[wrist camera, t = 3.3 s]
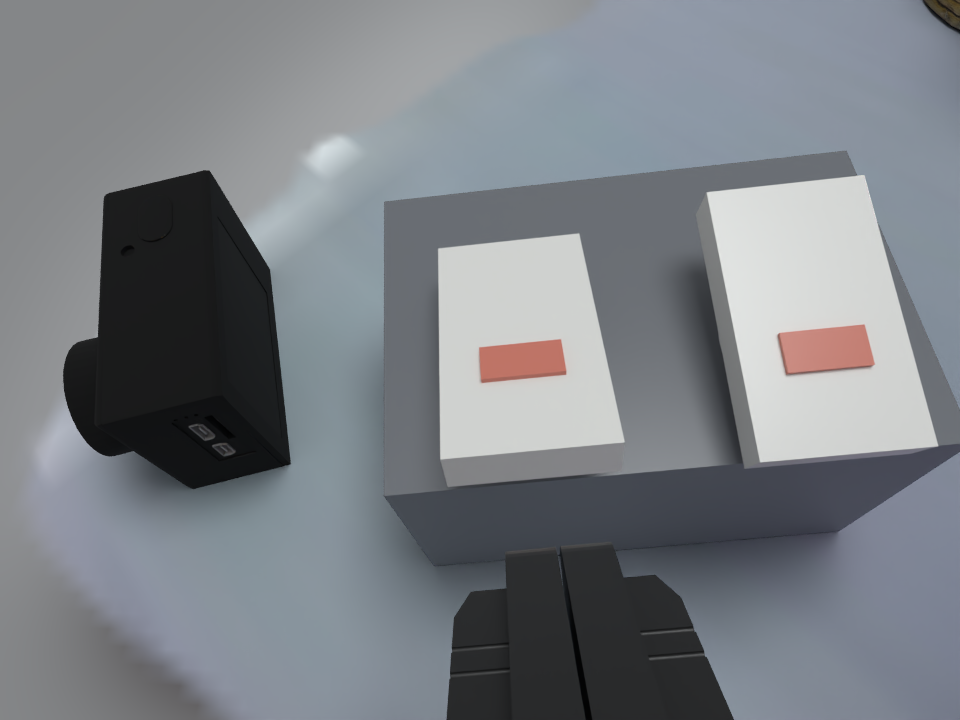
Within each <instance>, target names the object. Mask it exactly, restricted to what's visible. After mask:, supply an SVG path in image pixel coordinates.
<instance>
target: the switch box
mask: <svg viewBox="0 0 960 720" xmlns="http://www.w3.org/2000/svg"><path fill="white" fill-rule="evenodd" d="M851 176H857V174H856V172H855V169H854V167H853V165H852V162H851V160H850V158H849V156H848V153H847V151H839V152H830V153H821V154H812V155H803V156H794V157H785V158H776V159H767V160H758V161H749V162H740V163H731V164H722V165H712V166H703V167H694V168H685V169H676V170H667V171H658V172H649V173H640V174H631V175H622V176H613V177H604V178H595V179H586V180H577V181H568V182H559V183H550V184H541V185H531V186H522V187H513V188H504V189H495V190H486V191H477V192H468V193H459V194H450V195H441V196H432V197H423V198H414V199H405V200H396V201H387V202H384V497H385V498H386V500H387V501H388V502H389V504H390V505H391V507H392V508H393V509H394V511H395V512H396V514H397V515H398V516H399V518H400V519H401V520H402V522H403V523H404V525H405V526H406V527H407V529H408V530H409V532H410V533H411V534H412V536H413V537H414V539H415V540H416V541H417V543H418V544H419V546H420V547H421V548H422V550H423V551H424V553H425V554H426V555H427V557H428V558H429V560H430V561H431V562H432V564H433V565H434V566H439V565H451V564H463V563H474V562H486V561H497V560H505V552H506V551H517V550H527V549H538V548H549V547H556V550H557V555H560V546H568V545H579V544H590V543H601V542H612V544H613V547H614V550H626V549H637V548H649V547H660V546H672V545H684V544H695V543H707V542H719V541H730V540H742V539H754V538H765V537H777V536H789V535H800V534H812V533H823V532H835V531H840V530H842V529H843V528H845V527H846V526H848V525H849V524H851V523H852V522H854V521H855V520H857V519H858V518H860V517H861V516H863V515H864V514H866V513H867V512H869V511H870V510H872V509H873V508H875V507H877V506H878V505H880V504H881V503H883V502H884V501H886V500H887V499H889V498H890V497H892V496H893V495H895V494H896V493H898V492H899V491H901V490H902V489H904V488H905V487H907V486H908V485H910V484H912V483H913V482H915V481H916V480H918V479H919V478H921V477H922V476H924V475H925V474H927V473H928V472H930V471H931V470H933V469H934V468H936V467H937V466H939V465H940V464H942V463H943V462H945V461H946V460H948V459H950V458H951V457H953V456H954V455H956V454H957V453H959V452H960V409H959V407H958V405H957V402H956V400H955V398H954V396H953V393H952V391H951V389H950V386H949V384H948V382H947V380H946V377H945V375H944V373H943V370H942V368H941V366H940V364H939V361H938V359H937V357H936V354H935V352H934V350H933V348H932V345H931V343H930V341H929V338H928V336H927V334H926V332H925V329H924V327H923V325H922V322H921V320H920V318H919V316H918V313H917V311H916V309H915V306H914V304H913V302H912V300H911V297H910V295H909V293H908V290H907V288H906V286H905V284H904V281H903V279H902V277H901V274H900V272H899V270H898V268H897V265H896V263H895V261H894V258H893V256H892V254H891V252H890V249H889V247H888V245H887V242H886V240H885V238H884V236H883V233H882V231H881V229H880V226H879V224H878V227H879V231H880V234H881V238H882V242H883V245H884V249H885V253H886V256H887V260H888V264H889V267H890V271H891V274H892V278H893V282H894V285H895V289H896V293H897V296H898V300H899V304H900V307H901V311H902V315H903V318H904V322H905V326H906V329H907V333H908V337H909V340H910V344H911V348H912V351H913V355H914V359H915V362H916V366H917V370H918V373H919V377H920V381H921V384H922V388H923V392H924V395H925V399H926V403H927V406H928V410H929V413H930V417H931V421H932V424H933V428H934V432H935V435H936V439H937V443H938V447H934V448H930V449H927V450H923V451H919V452H915V453H912V454H903V455H892V456H881V457H870V458H859V459H848V460H837V461H826V462H815V463H804V464H793V465H782V466H771V467H760V468H749V469H744V464H743V459H742V454H741V448H740V443H739V438H738V433H737V427H736V422H735V417H734V412H733V406H732V401H731V396H730V391H729V385H728V380H727V375H726V370H725V365H724V359H723V354H722V350H721V347H720V342H719V335H718V328H717V323H716V317H715V312H714V307H713V302H712V296H711V291H710V286H709V281H708V276H707V270H706V265H705V260H704V255H703V249H702V244H701V239H700V234H699V228H698V223H697V218H696V213H697V211H698V209H699V207H700V205H701V203H702V201H703V199H704V197H705V195H706V193H707V192H714V191H723V190H732V189H741V188H750V187H759V186H769V185H778V184H787V183H796V182H805V181H815V180H824V179H833V178H842V177H851ZM877 223H878V222H877ZM578 233H579V235H580V240H581V244H582V249H583V253H584V258H585V263H586V267H587V272H588V276H589V281H590V285H591V290H592V295H593V299H594V304H595V308H596V313H597V317H598V322H599V326H600V331H601V336H602V340H603V345H604V349H605V354H606V358H607V363H608V368H609V372H610V377H611V381H612V386H613V390H614V395H615V400H616V404H617V409H618V413H619V418H620V422H621V427H622V432H623V436H624V441H625V445H624V454H623V463H622V471H618V472H607V473H596V474H585V475H574V476H563V477H552V478H541V479H530V480H519V481H508V482H497V483H486V484H475V485H464V486H453V487H448V486H447V483H446V479H445V475H444V471H443V468H442V464H441V460H440V383H439V284H438V248H447V247H457V246H466V245H475V244H485V243H494V242H503V241H513V240H522V239H531V238H541V237H550V236H559V235H569V234H578Z"/></svg>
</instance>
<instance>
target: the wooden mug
mask: <svg viewBox="0 0 960 720" xmlns="http://www.w3.org/2000/svg"><path fill="white" fill-rule="evenodd" d="M925 2H926V4H927V5H928V6H929V7H931V8H932V9H933V10H934V11H935V12H936V13H937V14H938V15H939V16H940V17H941V18H943V19H944V20H945V21H946V22H947V23H948V24H950V25H951V26H953V27H955V28H958V29H960V0H925Z"/></svg>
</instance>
